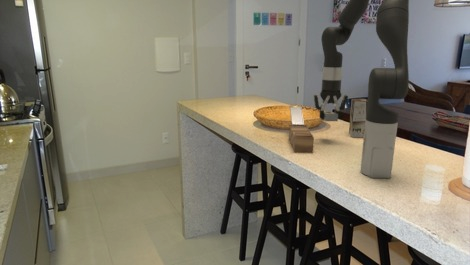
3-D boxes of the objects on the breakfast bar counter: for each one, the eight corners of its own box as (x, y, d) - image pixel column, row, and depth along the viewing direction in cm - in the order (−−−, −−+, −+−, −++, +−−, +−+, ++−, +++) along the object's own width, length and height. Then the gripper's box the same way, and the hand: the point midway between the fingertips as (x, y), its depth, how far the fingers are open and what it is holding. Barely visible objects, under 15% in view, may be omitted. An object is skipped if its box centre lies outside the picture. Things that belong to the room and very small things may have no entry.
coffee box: (366, 138, 151) (369, 101, 147) (350, 137, 152) (354, 101, 148) (362, 132, 160) (366, 98, 156) (348, 132, 161) (351, 97, 157)
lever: (304, 124, 147) (301, 105, 155) (291, 124, 147) (289, 105, 156) (304, 126, 148) (301, 107, 156) (291, 126, 148) (289, 107, 157)
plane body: (313, 152, 131) (314, 135, 129) (294, 152, 131) (294, 135, 130) (305, 139, 149) (306, 124, 147) (288, 139, 149) (289, 124, 147)
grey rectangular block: (337, 121, 139) (338, 112, 139) (325, 121, 139) (325, 112, 139) (332, 119, 148) (332, 111, 148) (320, 119, 148) (321, 110, 148)
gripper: (347, 77, 143) (343, 117, 147) (312, 77, 143) (309, 117, 148) (352, 79, 135) (348, 121, 140) (315, 79, 136) (312, 121, 141)
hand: (328, 119), depth 144 cm, fingers closed on grey rectangular block, 5 cm apart
